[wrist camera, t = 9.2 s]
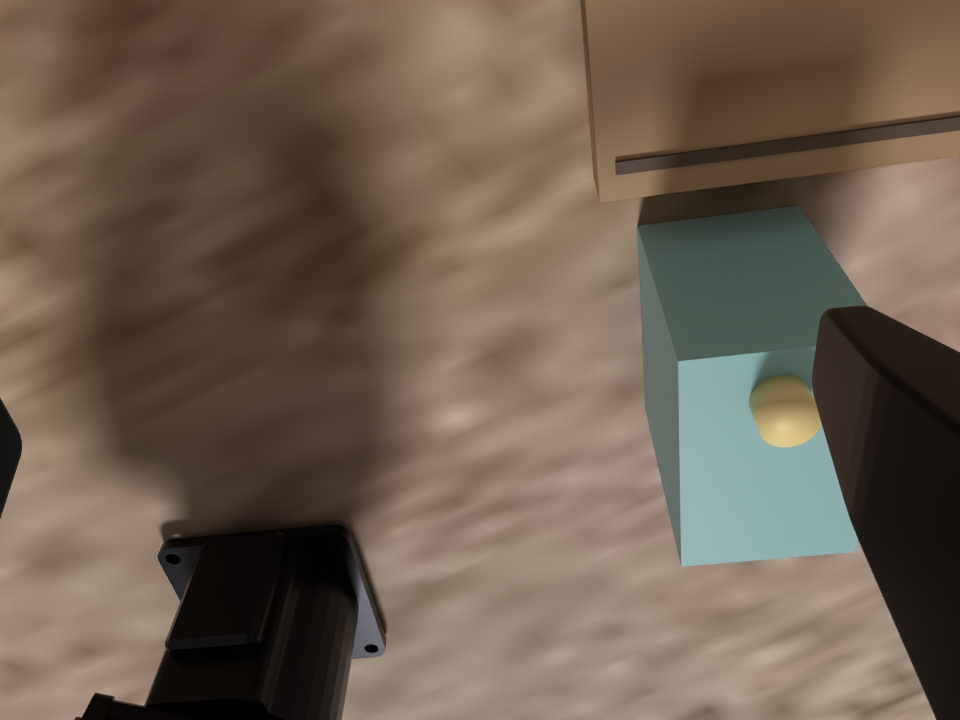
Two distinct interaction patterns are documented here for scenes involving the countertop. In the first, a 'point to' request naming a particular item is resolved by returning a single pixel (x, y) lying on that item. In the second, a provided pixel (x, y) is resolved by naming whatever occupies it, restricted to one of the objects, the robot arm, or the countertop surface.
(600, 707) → the countertop surface
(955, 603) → the robot arm
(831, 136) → the board
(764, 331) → the teal box with knob
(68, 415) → the countertop surface
